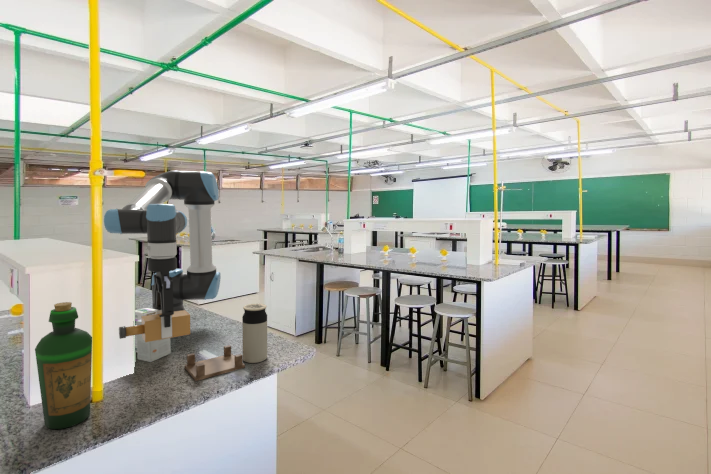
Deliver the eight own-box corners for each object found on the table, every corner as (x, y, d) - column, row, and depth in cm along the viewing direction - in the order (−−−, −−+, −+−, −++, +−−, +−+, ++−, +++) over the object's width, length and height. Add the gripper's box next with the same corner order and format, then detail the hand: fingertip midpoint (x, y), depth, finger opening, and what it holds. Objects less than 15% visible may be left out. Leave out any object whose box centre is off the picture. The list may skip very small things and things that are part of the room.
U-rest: (195, 381, 109) (195, 367, 108) (184, 367, 117) (184, 354, 117) (244, 367, 118) (244, 354, 118) (231, 356, 127) (231, 344, 127)
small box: (157, 350, 131) (156, 314, 130) (171, 353, 128) (170, 316, 127) (136, 359, 123) (135, 320, 122) (150, 362, 121) (149, 323, 120)
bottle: (65, 437, 82) (59, 312, 80) (26, 430, 84) (19, 308, 82) (106, 411, 92) (102, 299, 90) (71, 405, 95) (66, 297, 92)
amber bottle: (185, 328, 117) (185, 310, 117) (190, 334, 113) (190, 314, 112) (118, 340, 106) (117, 319, 106) (121, 346, 102) (120, 325, 101)
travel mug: (258, 365, 120) (258, 310, 119) (237, 361, 123) (237, 307, 122) (271, 356, 128) (271, 304, 126) (252, 352, 130) (252, 302, 129)
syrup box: (133, 351, 129) (131, 310, 128) (149, 346, 134) (148, 306, 133) (144, 355, 127) (142, 313, 125) (159, 349, 132) (158, 309, 131)
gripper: (142, 253, 114) (144, 327, 116) (154, 262, 99) (156, 346, 101) (168, 252, 119) (170, 323, 121) (184, 260, 104) (186, 340, 106)
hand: (164, 333), depth 111 cm, fingers closed on amber bottle, 6 cm apart
